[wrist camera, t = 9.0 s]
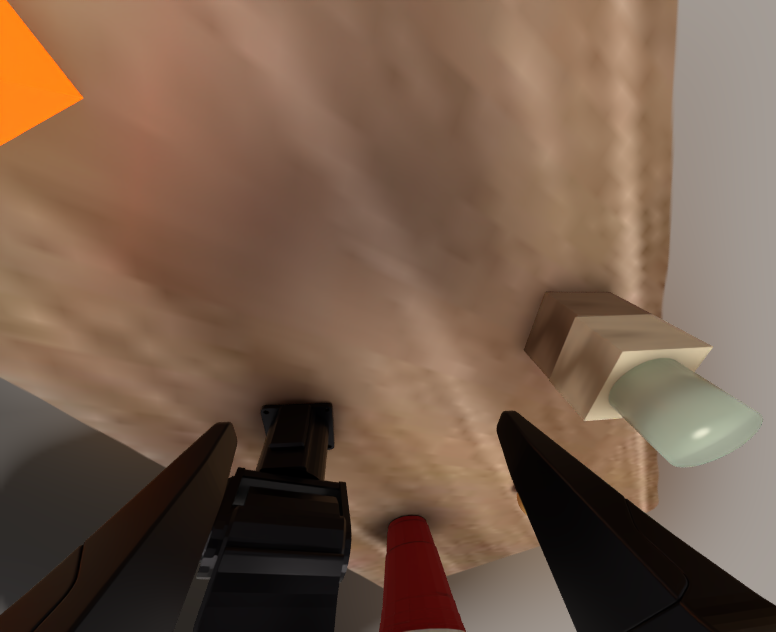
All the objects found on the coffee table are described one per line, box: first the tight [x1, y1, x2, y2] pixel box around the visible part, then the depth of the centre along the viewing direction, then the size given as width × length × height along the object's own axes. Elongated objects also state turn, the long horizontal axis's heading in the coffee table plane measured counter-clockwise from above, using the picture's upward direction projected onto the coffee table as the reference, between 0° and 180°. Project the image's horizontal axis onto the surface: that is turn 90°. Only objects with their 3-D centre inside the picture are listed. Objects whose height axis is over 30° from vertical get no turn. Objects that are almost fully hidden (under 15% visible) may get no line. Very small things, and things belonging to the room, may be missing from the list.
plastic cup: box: [379, 515, 466, 632], centre depth 35 cm, size 11×11×12 cm
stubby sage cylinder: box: [609, 358, 763, 467], centre depth 16 cm, size 5×5×4 cm
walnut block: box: [524, 292, 653, 379], centre depth 23 cm, size 6×6×4 cm
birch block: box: [549, 314, 713, 421], centre depth 19 cm, size 6×6×4 cm
